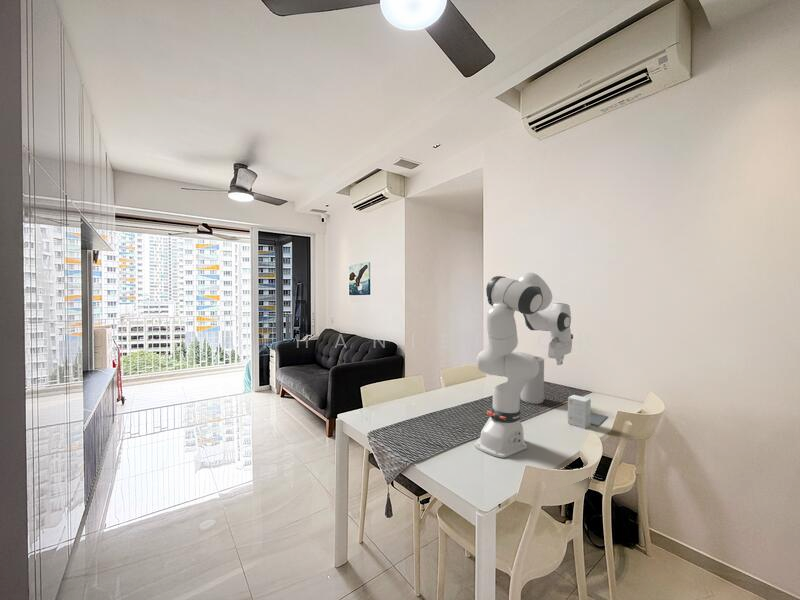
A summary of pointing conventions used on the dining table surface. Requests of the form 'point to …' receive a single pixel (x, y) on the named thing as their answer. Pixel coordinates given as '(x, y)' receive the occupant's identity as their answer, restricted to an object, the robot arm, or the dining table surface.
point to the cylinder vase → (534, 386)
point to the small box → (579, 411)
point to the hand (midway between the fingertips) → (559, 364)
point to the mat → (596, 419)
